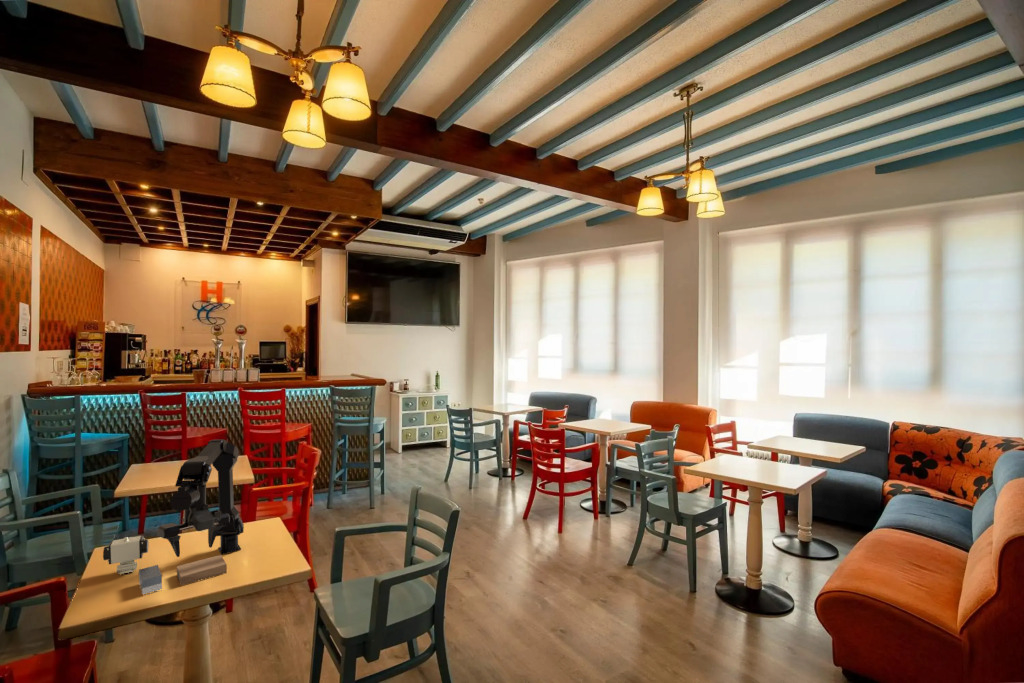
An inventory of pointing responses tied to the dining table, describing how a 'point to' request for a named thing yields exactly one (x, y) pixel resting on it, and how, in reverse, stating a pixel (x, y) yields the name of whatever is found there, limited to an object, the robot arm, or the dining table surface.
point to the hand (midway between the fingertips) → (194, 551)
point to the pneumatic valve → (126, 552)
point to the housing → (150, 579)
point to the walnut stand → (201, 569)
